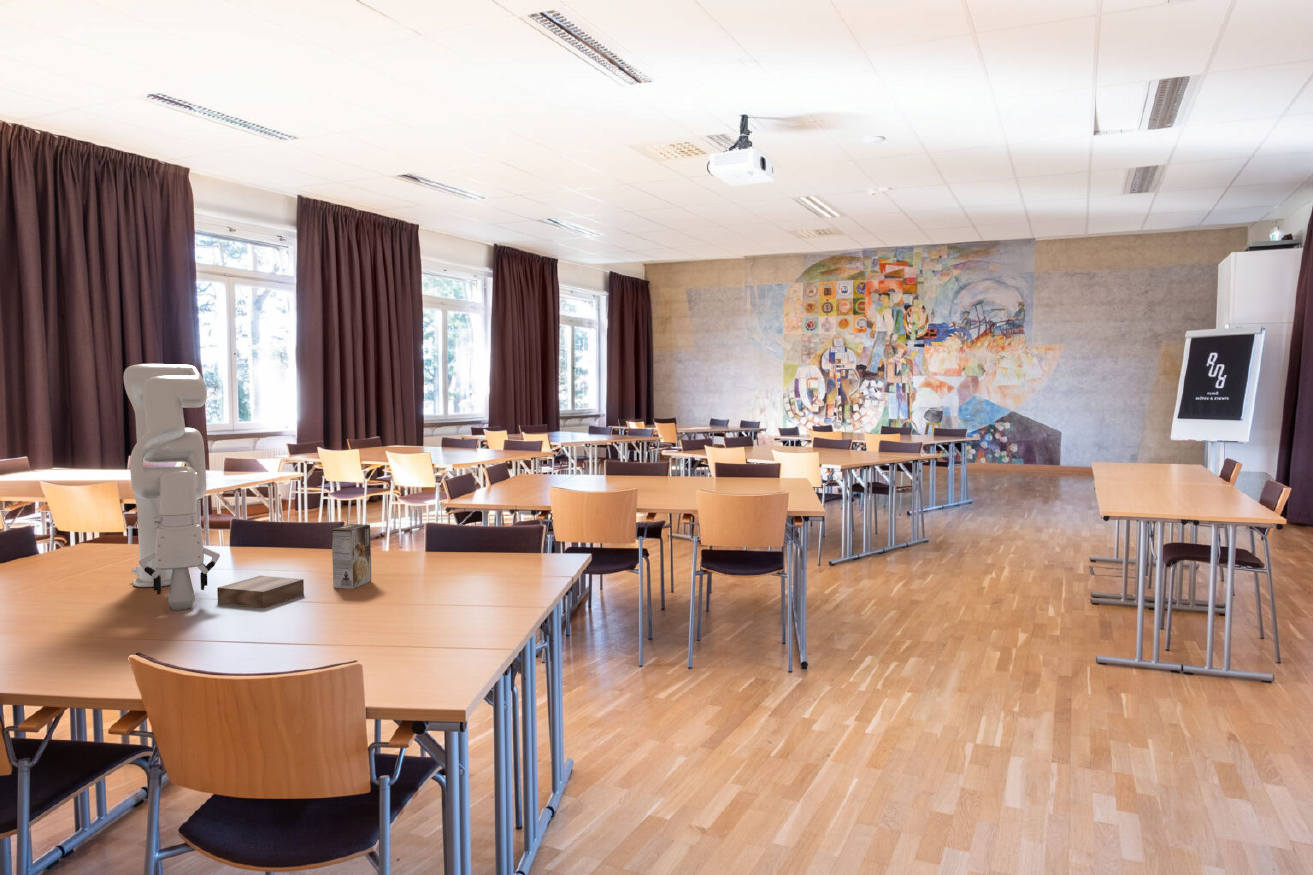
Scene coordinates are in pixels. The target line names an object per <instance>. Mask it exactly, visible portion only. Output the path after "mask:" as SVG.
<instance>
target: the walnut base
mask: <svg viewBox="0 0 1313 875" xmlns="http://www.w3.org/2000/svg"><path fill="white" fill-rule="evenodd" d="M304 585H305V583H304V579H303V578H291V577H280V576H268V575H257V576H254V577H250V578H246V579H243V580H239V581H236V582H232V583H229V584H225V585H221V586H219V587H217V590H216V591H217V604H218V603H221V604H220V605H227V606H228V605H230V606H238V607H239V606H241V607H249V608H250V607H251V608H258V609H259V608H261V609H265V608H267V607H271V606H273V605H277V604H279V603H283V602H285V601H289V600H292V599H295V598H298V597H301V596H303V595H304V594H305V590H304V589H305V586H304Z"/></svg>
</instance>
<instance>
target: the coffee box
mask: <svg viewBox="0 0 1313 875" xmlns="http://www.w3.org/2000/svg"><path fill="white" fill-rule="evenodd" d="M371 544H372V543H371V524H363V523H361V524H355V523H350V524H346V525H343V526H339V527H336V528H335V527H334V528H332V529H331V554H332V555H331V556H332V558H331V559H332V560H331V561H332V587H333V588H334V589H349V590H355V589H357V588H359V587H361V586H363V585H366V584H369V583H370V582H372V580H373V578H372V553H371V552H372V550H371Z"/></svg>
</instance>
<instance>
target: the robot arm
mask: <svg viewBox="0 0 1313 875" xmlns="http://www.w3.org/2000/svg"><path fill="white" fill-rule="evenodd" d="M123 384H124V385H123V386H124V389H125V393H126V395H127V397H128V399H129V402H130V404H131V405H132V408H133V411H134V414H135V429H136V431H135V432H136V433H135V434H136V444H134V447H133V448H132V451H131V454H130V458H129V473H130V482H131V488H132V492H133V494H134V500H135V504H136V512H137V533H138V535H137V536H138V537H137V538H138V565H137V566H136V567H135V568H132V569H131V574H134V575H135V574H136V576H137V578H135V579H134V580H133V581H132V583H133V586H135V587H138V588H153V591H156V595H157V596H159V595H161V594H162V587H166V586H167V587H168V586H170V583H171V576H172V570H173V569H179V568H188V569H189V568H190V569H191V568H197V569H198V570H200V575H199V576H200V591H205V587H207V586H208V573H209V571H211V570H212V569H213V568H214V567H215V565H216V563H217V562H218V561H219V558H220V557H221V555H220V553H218V552H216V551H214V550H211V549H208V548H206V547H204V538H203V532H202V526H201V525H200V524H198V521H197V519H198V518H197V517H198V516H197V500H200V499H203V498H204V496H205V495H206V492H207V470H206V469H207V468H206V456H205V455H206V454H205V444H204V438H203V436H202V434H201V431H199V430H198V429H196V428H192V427H186V424H185V418H184V417H185V416H184V409H183V408H186V409H187V408H189V409H190V408H192V409H193V408H196V409H197V408H201V407H202V408H203V406H205V404H206V402H207V398H208V396H207V395H208V393H207V386H206V382H205V380H204V378H203V376H202V374H201V373H200V371H199V370H198V368H197V367H196V366H194V365H191V364H174V363H173V364H168V363H167V364H165V363H139V364H133V365H129V366H128V367H126V368H125V370H124V372H123ZM144 463H148V464H150V463H151V464H168V463H184V464H185V466H183V465H182V466H163V467H162V466H161V467H160V466H159V467H145V466H144ZM205 556H209V557H211V560H210V561H209V562H208V563H207V564H205V563H204V561H205Z"/></svg>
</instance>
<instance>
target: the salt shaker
mask: <svg viewBox="0 0 1313 875" xmlns="http://www.w3.org/2000/svg"><path fill="white" fill-rule="evenodd" d="M195 598H196V594H195V592H194V587H193V583H192V579H191V574H190V569H189V568H179V569H173V570H172V576H171V583H170V585H169V590H168V596H167V602H168V604H169V606H170V609H171V610H172V609H174V611H183V610H182V609H184V610H188V609H191V608H192V606H193V604H194V602H195V600H196V599H195ZM190 607H191V608H190ZM187 608H188V609H187Z"/></svg>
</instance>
